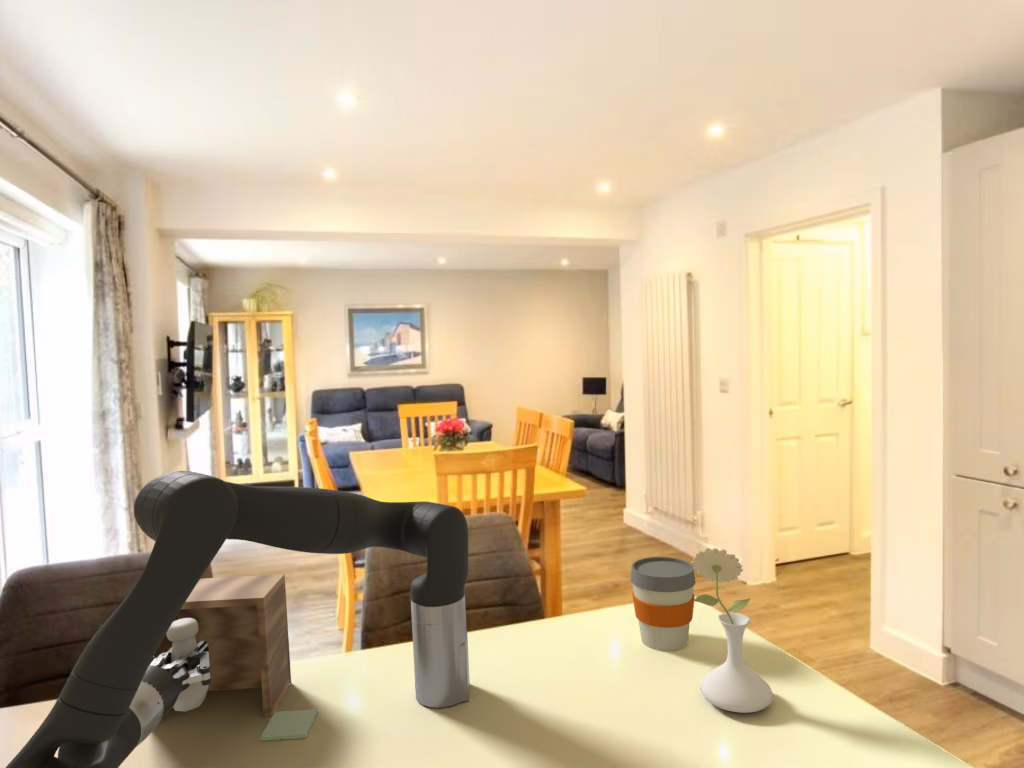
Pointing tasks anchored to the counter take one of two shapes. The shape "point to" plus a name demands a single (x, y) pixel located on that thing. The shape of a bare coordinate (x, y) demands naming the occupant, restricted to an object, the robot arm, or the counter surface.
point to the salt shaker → (182, 645)
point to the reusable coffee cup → (663, 601)
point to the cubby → (242, 633)
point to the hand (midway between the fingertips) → (192, 647)
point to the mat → (289, 725)
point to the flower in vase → (730, 642)
